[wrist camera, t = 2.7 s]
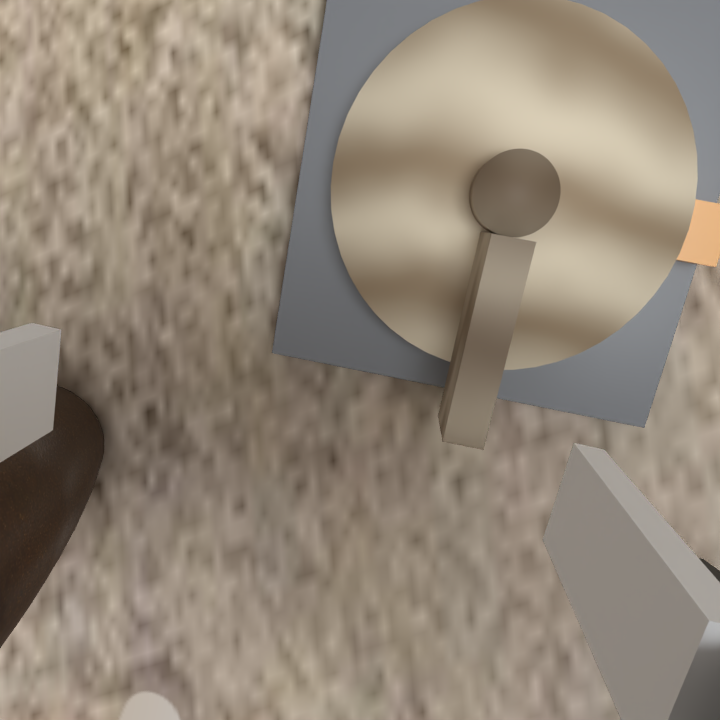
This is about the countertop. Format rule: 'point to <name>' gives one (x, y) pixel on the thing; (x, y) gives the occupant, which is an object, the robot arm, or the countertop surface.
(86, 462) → the plant pot
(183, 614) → the countertop surface
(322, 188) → the dial base
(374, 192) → the beige rotary knob
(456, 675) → the countertop surface
